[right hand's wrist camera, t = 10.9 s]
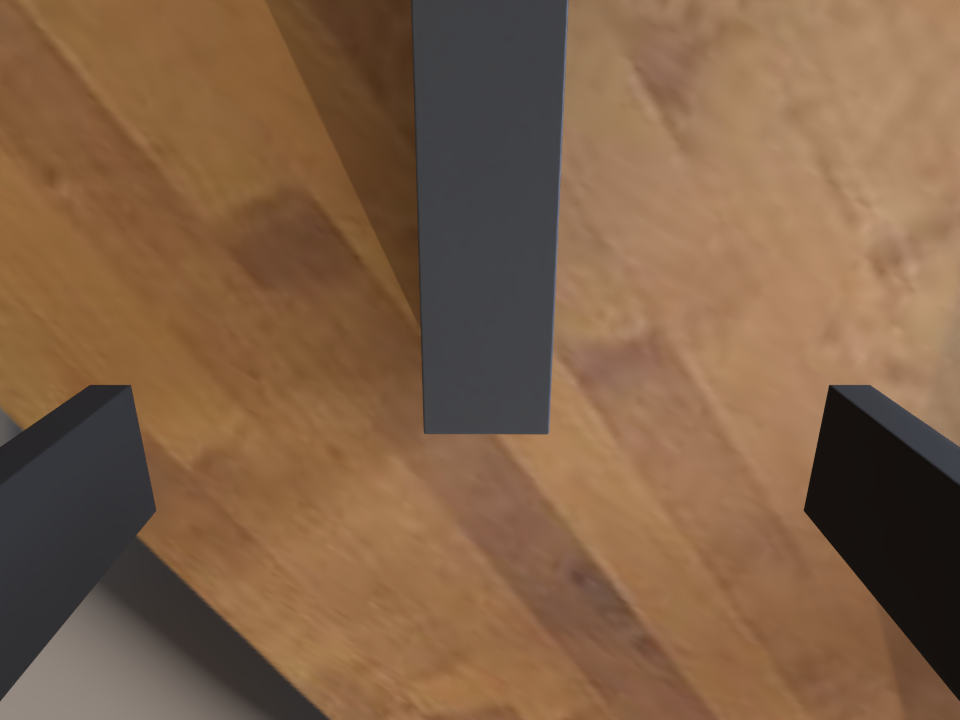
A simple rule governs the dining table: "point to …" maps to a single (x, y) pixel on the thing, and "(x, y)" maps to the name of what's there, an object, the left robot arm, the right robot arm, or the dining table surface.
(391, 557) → the dining table surface
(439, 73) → the bar
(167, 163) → the dining table surface
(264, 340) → the dining table surface
